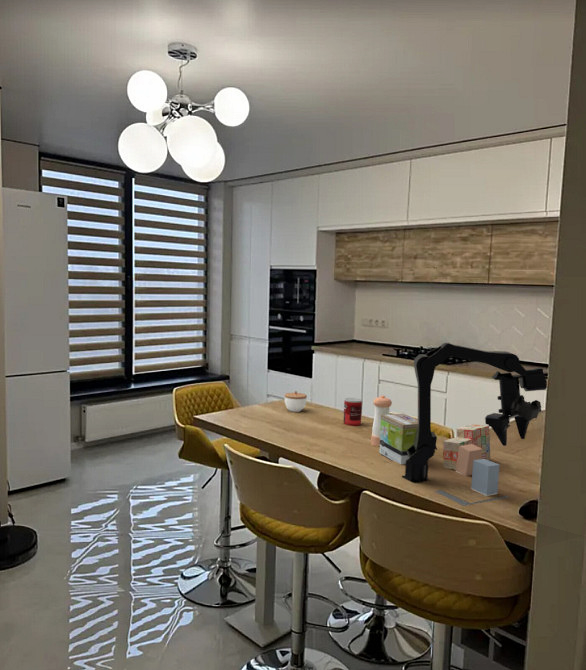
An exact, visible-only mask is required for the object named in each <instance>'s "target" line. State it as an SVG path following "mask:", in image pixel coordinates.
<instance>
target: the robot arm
mask: <svg viewBox="0 0 586 670" xmlns="http://www.w3.org/2000/svg"><path fill="white" fill-rule="evenodd" d="M450 357H451V358H458V359H463V360H467V361H472V362H477V363H482V364H485V365H489V366H492V367H494V368H497V369H499V370H502V371H504V372H502V373H501V372H500V371H498V370H496V372H495V373H494V374H493V375H492V376H491V378H492V379H493V380H494V381H499V392H500V394H499V395H498V396H497V400H499V401H500V409H498V412H497V413H495V412H493V413H490V414H487V415H486V416H485V417H484V420H485V425H487V426H489V427H491V429H492V430H493V432H494V433H495V435H496V437H497V439H498V440H499V442H500V443H501V445H502V446H504V447H506V446H507V442H508V440H507V439H508V438H507V436H508V432H507V431H508V429H509V427H510V426H511V425H510V419H513V418H514V421H515V424H516V428H517V432H518V434H519V437H520V439H521V440H525V439H526V435H527V430H528V427H529V424H530V422H531V421H532V420H533V419H538V416H539V413H542V404H541V401H539V400H538V399H536V400H535V399H534V400H533V401H526V400H525V396H524V395H522V394H521V390H520V389H523V391H525V392H536V391H537V392H538V391H546V389H547V385H548V382H547V378H546V375H545V373H544V369H543V368H542V367H535V368H529V369H526V368H525V367H524V366H523V365H522V364H521V359H520V357H518V355H517V354H515V353H512V352H510V351H503V350H502V351H500V350H496V351H495V350H494V351H493V350H491V351H490V350H489V351H488V350H482V349H478V348H472V347H467V346H462V345H456V344H453V343H450V342H444V343H442V344H441V345H439V346H438V347H435V348H434V349H432V350H430V351H429V352H427V353H425V354H424V353H422V354H419V355H417V356H416V357H415V358H414V360H413V368H414V373H415V378H416V383H417V419H418V427H417V431H416V434H415V439H414V444H413V445H412V446H411V447H410V448H408V449H407V450H406V451H407V455H408V457H409V459H408V460H406V464H405V469H404V475H401V478H403V479H404V480H406V481H409V482H411V483H413V484H420V483H424V482H429V481H431V479H430V478H428V474H429V465H428V462H429V460H430V459H431V458H433V456H434V455H435V452H436V451H437V450H438V448H437V439H438V437H437V435H436V434H435V432H434V431H432V429H431V425H432V424H431V423H432V422H431V421H432V419H431V417H432V416H431V415H432V413H431V410H432V409H431V408H432V407H431V405H432V402H431V401H432V400H431V399H432V398H431V397H432V396H431V395H432V390H431V389H432V388H431V387H432V382H433V378H434V376H435V375H434V374H435V370H436V368H437V367H438V366H439V365H441V364H442V363H443V362H445V361H446V360H448V358H450ZM512 373H516V374H512Z"/></svg>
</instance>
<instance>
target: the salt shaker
mask: <svg viewBox="0 0 586 670" xmlns="http://www.w3.org/2000/svg"><path fill="white" fill-rule="evenodd" d="M392 402H393V401H392V399H390V398H389V397H385V395H381V396H379V397H376V398H374V400H373V405H374V418H373V424H372V431H371V432H372V434H371V436H370V444H371V445H372V446H373V447H378V446H380V430H381V415H390V407H391V406H392Z"/></svg>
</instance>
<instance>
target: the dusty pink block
mask: <svg viewBox="0 0 586 670" xmlns="http://www.w3.org/2000/svg"><path fill="white" fill-rule="evenodd" d="M482 450H483V449H482V448H480V447H478V446H475V445H473V444H469V445H463V446H459V451H458V458H457V465H456V470H455V471H454V472H456V473H458V474H460V475H462V476H464V477H469V476H472V472H473V460H479V459H481V457H482Z"/></svg>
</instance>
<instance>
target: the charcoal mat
mask: <svg viewBox="0 0 586 670" xmlns="http://www.w3.org/2000/svg"><path fill="white" fill-rule="evenodd" d="M434 492H435V493H437V494H439V495H441V496H444V497H445V498H446V499H447V498H448V499H450V500H451V501H453V502H455V503H457V504H459V505H461V506H463V507H465V506H470V505H475V504H480V503H481V504H482V503H485V502H492V501H496V500H501V499H507V498H510V496H509V495H502V496H497V497H495V498H494V497H493V498H490V499H489V498H488V499H484V500H479V501H475V502H468V501H466V500H464V499H463V498H462V499H461V498H459V497H457V496H455V495H453V494H451V493H449V492H446V491H444V490H442V489H440V490H439V489H438V490H435V491H434Z"/></svg>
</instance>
